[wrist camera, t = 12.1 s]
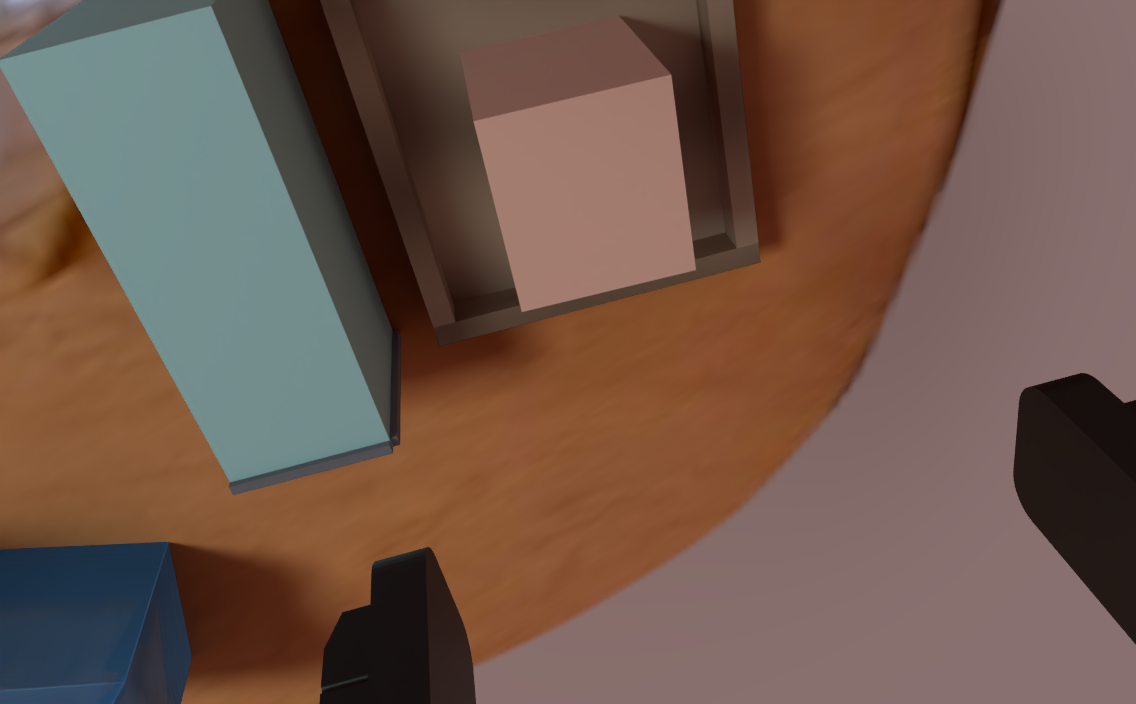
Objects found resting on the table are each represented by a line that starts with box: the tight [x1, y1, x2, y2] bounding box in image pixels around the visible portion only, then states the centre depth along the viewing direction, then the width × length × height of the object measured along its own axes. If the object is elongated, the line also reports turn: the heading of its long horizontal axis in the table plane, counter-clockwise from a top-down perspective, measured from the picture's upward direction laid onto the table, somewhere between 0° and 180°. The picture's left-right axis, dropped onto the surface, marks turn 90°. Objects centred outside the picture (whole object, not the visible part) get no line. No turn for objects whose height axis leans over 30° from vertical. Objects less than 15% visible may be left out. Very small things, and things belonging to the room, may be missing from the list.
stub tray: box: [320, 0, 761, 346], centre depth 26 cm, size 11×10×2 cm
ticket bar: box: [0, 0, 401, 495], centre depth 24 cm, size 12×5×6 cm, turn 12°
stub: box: [460, 16, 696, 312], centre depth 24 cm, size 5×4×6 cm
